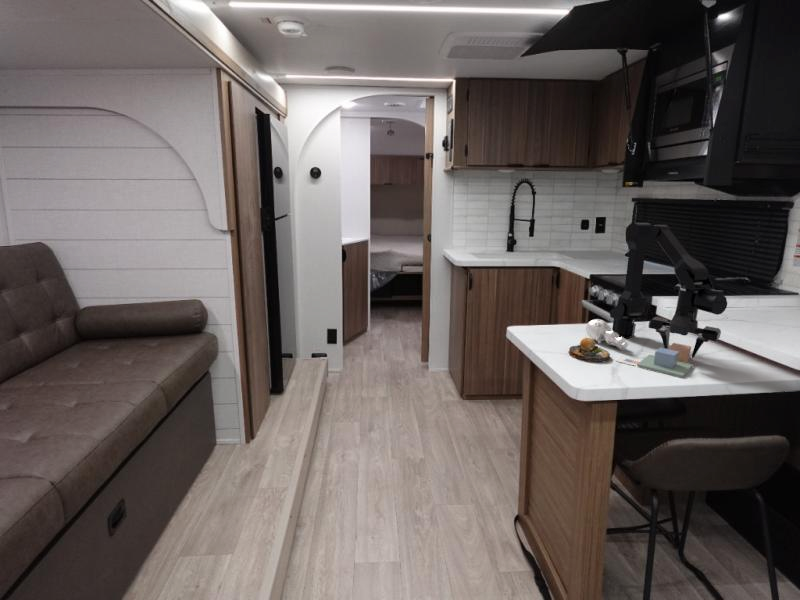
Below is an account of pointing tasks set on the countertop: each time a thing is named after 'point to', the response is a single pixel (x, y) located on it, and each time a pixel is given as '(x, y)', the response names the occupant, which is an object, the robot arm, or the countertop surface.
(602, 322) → the figurine
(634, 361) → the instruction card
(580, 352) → the food on plate
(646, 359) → the build plate
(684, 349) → the brick orange
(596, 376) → the countertop surface
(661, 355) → the brick blue
